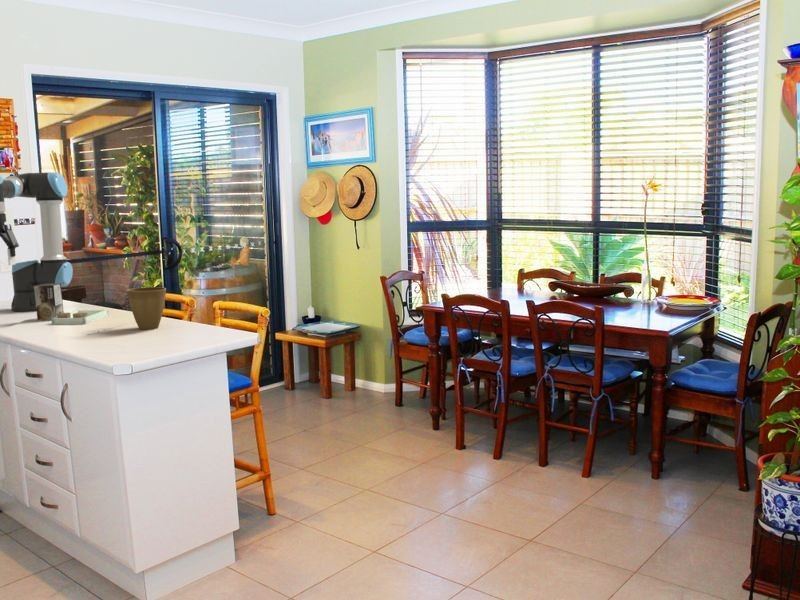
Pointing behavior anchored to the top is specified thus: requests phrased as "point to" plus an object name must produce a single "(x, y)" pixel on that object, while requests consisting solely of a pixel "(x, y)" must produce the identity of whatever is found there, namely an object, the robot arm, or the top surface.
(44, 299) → the coffee box
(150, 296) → the plant pot
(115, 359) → the top surface
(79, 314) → the walnut block
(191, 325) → the top surface
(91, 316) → the tray
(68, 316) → the walnut block
